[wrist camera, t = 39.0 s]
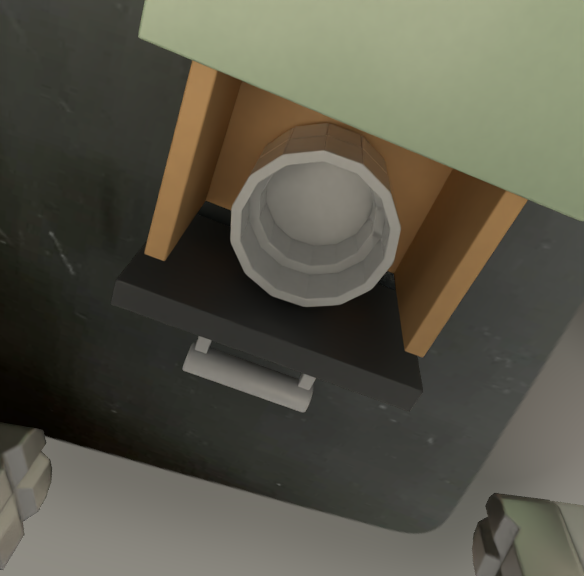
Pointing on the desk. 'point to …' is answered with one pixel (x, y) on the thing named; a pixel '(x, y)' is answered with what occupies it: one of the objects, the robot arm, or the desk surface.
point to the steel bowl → (316, 217)
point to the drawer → (282, 314)
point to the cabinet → (414, 76)
